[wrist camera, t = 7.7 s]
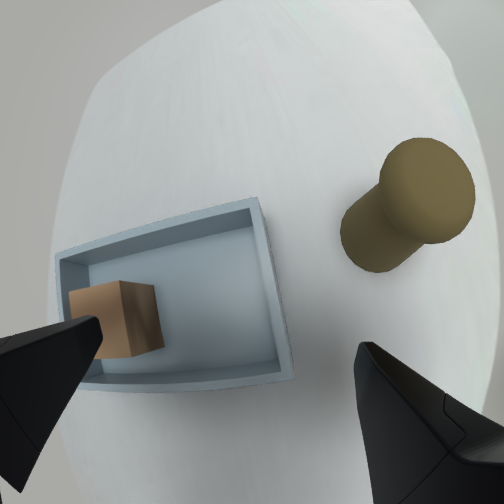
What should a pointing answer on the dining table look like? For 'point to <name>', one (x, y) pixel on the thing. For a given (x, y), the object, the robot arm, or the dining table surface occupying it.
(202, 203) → the dining table surface
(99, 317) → the walnut cube
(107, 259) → the tote
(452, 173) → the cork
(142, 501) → the dining table surface
